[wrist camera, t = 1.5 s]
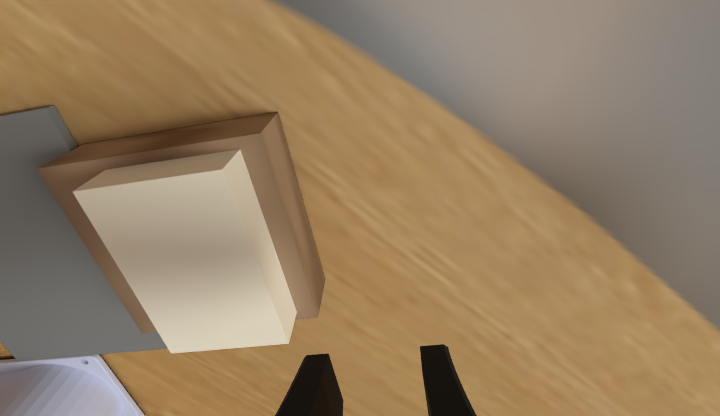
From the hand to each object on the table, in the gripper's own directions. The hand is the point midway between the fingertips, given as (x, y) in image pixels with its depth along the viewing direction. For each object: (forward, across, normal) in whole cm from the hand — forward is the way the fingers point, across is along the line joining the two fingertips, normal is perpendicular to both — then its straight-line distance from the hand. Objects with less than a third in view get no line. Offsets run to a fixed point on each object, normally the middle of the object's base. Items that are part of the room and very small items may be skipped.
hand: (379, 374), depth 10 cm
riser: (+10, +9, 0) cm, 14 cm away
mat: (+10, +21, +1) cm, 23 cm away
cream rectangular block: (+7, +8, 0) cm, 11 cm away
